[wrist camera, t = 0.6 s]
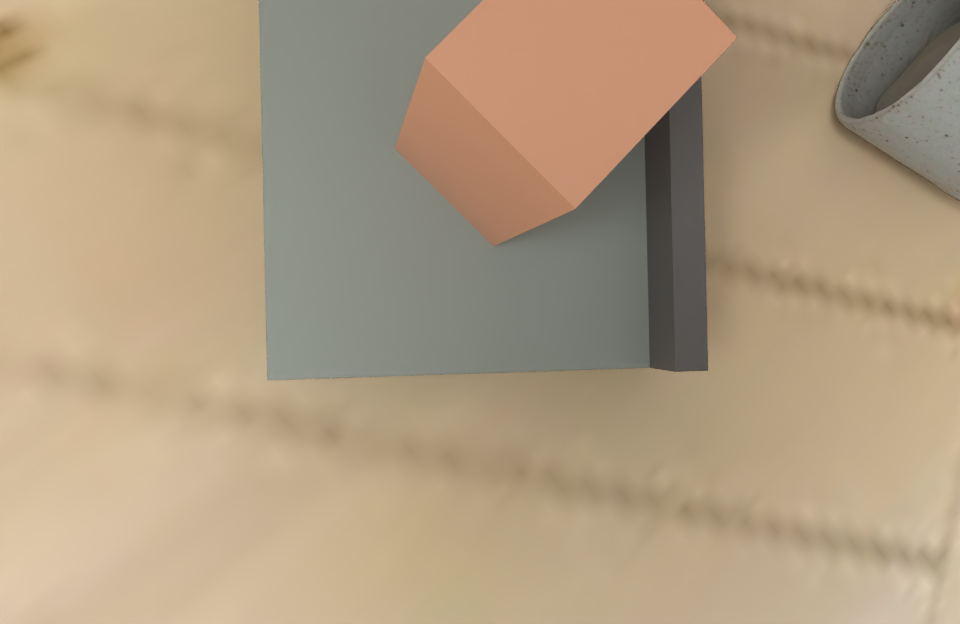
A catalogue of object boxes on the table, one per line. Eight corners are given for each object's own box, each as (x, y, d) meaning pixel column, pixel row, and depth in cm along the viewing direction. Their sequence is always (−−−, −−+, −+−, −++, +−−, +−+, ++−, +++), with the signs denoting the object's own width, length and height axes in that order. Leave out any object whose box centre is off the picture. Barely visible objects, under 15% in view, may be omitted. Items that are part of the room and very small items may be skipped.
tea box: (394, 148, 31) (425, 57, 20) (508, 34, 32) (596, -113, 21) (497, 250, 32) (581, 214, 21) (606, 135, 32) (742, 43, 22)
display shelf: (273, 374, 33) (261, 385, 28) (258, -328, 33) (243, -453, 28) (658, 362, 36) (716, 370, 30) (643, -291, 36) (698, -399, 30)
